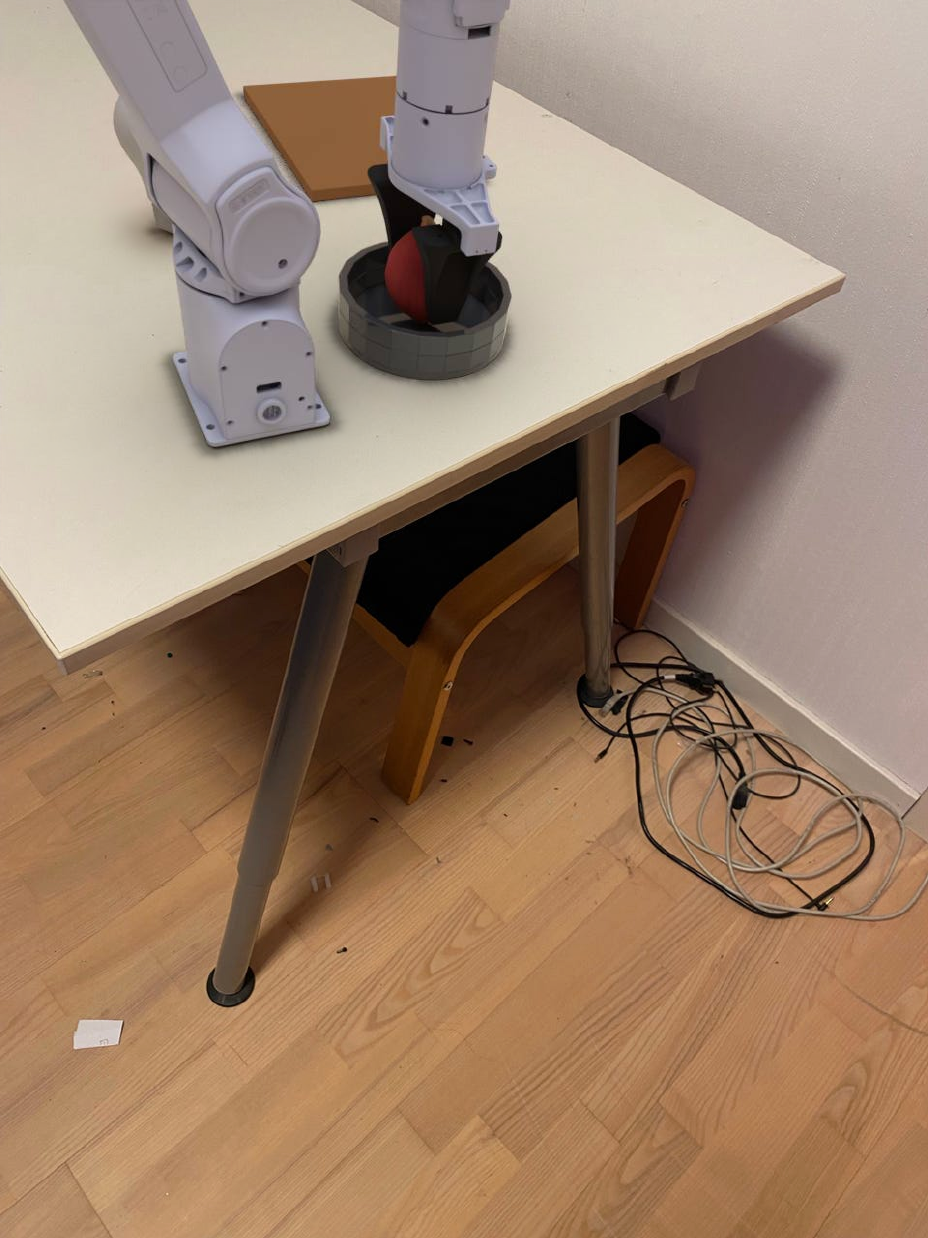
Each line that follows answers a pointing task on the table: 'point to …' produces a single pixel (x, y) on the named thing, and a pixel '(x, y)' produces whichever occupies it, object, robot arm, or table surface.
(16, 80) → the table surface
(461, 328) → the pan
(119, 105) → the lightbulb
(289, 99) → the mat
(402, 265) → the onion
